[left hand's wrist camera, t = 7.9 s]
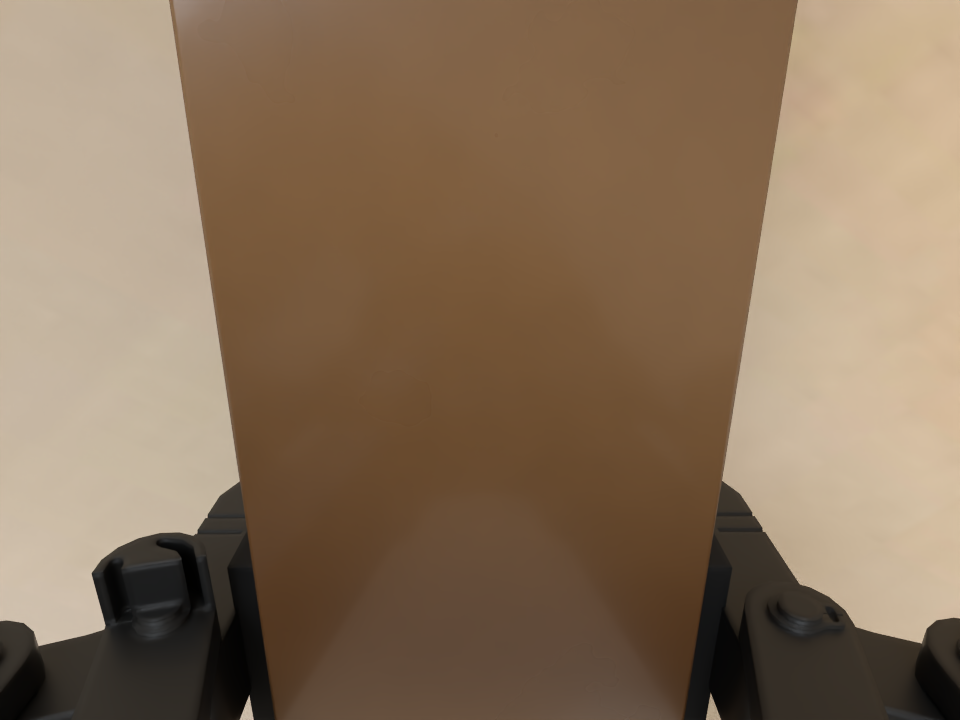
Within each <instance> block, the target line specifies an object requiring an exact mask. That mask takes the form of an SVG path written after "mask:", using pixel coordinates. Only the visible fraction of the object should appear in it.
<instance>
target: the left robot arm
mask: <svg viewBox="0 0 960 720" xmlns="http://www.w3.org/2000/svg"><path fill="white" fill-rule="evenodd" d="M92 577H93V580H94V584H95V588H96V592H97V595H98V599H99V603H100V606H101V610H102V614H103V617H104V621H105V625H106V627H105V629H104V630H102V631H99V632H96V633H92V634H89V635H85V636H81V637H77V638H72V639H68V640H64V641H59V642H55V643H51V644H46V645H42V646H38V644H37V641H36V637H35V634H34V631H32V630H31V629H30V628H29V627H28V626H26V625H25V624H24V623H19V622H12V621H0V720H240V717H241V715H242V712H243V710H244V707H245V704H246V702H247V699H248V697H249V695H250V701H251V706H252V712H253V718H254V720H275V717H274V710H273V703H272V696H271V689H270V683H269V676H268V669H267V662H266V655H265V649H264V642H263V635H262V628H261V621H260V615H259V608H258V601H257V594H256V587H255V580H254V574H253V567H252V560H251V553H250V546H249V540H248V533H247V526H246V519H245V512H244V506H243V499H242V492H241V485H240V482H239V483H237V484H236V485H234V486H233V487H232V488H230V489H229V490H228V491H226V492H225V493H224V494H222V495H221V496H220V497H219V498H218V500H217V501H216V503H215V505H214V506H213V508H212V509H211V511H210V512H209V514H208V518H205V520H204V521H203V523H202V524H201V526H200V527H199V529H198V533H197V534H195V535H194V536H191V535H187V534H183V533H159V534H155V535H151V536H146V537H142V538H138V539H136V540H134V541H132V542H130V543H127V544H125V545H123V546H121V547H118V548H117V549H116V550H114V551H113V552H112V553H110V554H109V555H108V556H106V557H105V558H103V559H102V560H101V561H100V563H99V564H98V565H97V567H96V568H95V570H94V571H93V572H92ZM710 693H711V694H712V697H713V700H714V702H715V705H716V707H717V710H718V712H719V715H720V718H721V720H960V619H959V618H950V619H943V620H937V621H935V622H934V623H933V624H932V625H931V626H929V627H928V628H927V630H926V633H925V636H924V639H923V642H922V644H921V643H916V642H912V641H908V640H903V639H899V638H895V637H890V636H886V635H882V634H877V633H873V632H870V631H866V630H863V629H860V628H856V627H855V625H854V624H853V622H852V621H851V619H850V617H849V616H848V614H847V613H846V611H845V610H844V609H843V608H842V607H840V606H839V605H838V604H837V603H836V602H834V601H833V600H832V599H831V598H830V597H828V596H826V595H824V594H822V593H820V592H818V591H816V590H814V589H812V588H810V587H806V586H803V585H800V584H799V583H798V581H797V580H796V578H795V577H794V575H793V574H792V572H791V571H790V569H789V568H788V566H787V565H786V563H785V562H784V560H783V559H782V557H781V556H780V554H779V552H778V551H777V549H776V548H775V546H774V545H773V543H772V542H771V540H770V539H769V537H768V536H767V534H766V533H765V532H763V531H762V527H761V525H760V524H759V522H758V521H757V519H756V518H755V516H752V512H751V510H750V508H749V507H748V505H747V504H746V502H745V501H744V499H743V498H742V496H741V495H740V494H739V493H738V492H737V491H735V490H734V489H732V488H731V487H730V486H728V485H727V484H726V483H724V482H723V481H722V483H721V489H720V495H719V501H718V508H717V514H716V520H715V527H714V533H713V539H712V546H711V552H710V558H709V565H708V571H707V577H706V584H705V590H704V596H703V603H702V609H701V615H700V622H699V628H698V634H697V641H696V647H695V653H694V660H693V666H692V672H691V679H690V685H689V691H688V698H687V704H686V710H685V717H684V720H706V715H707V710H708V704H709V698H710Z"/></svg>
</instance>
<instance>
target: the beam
mask: <svg viewBox="0 0 960 720" xmlns="http://www.w3.org/2000/svg"><path fill="white" fill-rule="evenodd" d="M169 2H170V9H171V15H172V22H173V29H174V36H175V43H176V49H177V56H178V63H179V70H180V77H181V83H182V90H183V97H184V104H185V111H186V117H187V124H188V131H189V138H190V145H191V151H192V158H193V165H194V172H195V179H196V186H197V192H198V199H199V206H200V213H201V220H202V226H203V233H204V240H205V247H206V254H207V260H208V267H209V274H210V281H211V288H212V294H213V301H214V308H215V315H216V322H217V329H218V335H219V342H220V349H221V356H222V363H223V369H224V376H225V383H226V390H227V397H228V403H229V410H230V417H231V424H232V431H233V437H234V444H235V451H236V458H237V465H238V472H239V478H240V485H241V492H242V499H243V506H244V512H245V519H246V526H247V533H248V540H249V546H250V553H251V560H252V567H253V574H254V580H255V587H256V594H257V601H258V608H259V615H260V621H261V628H262V635H263V642H264V649H265V655H266V662H267V669H268V676H269V683H270V689H271V696H272V703H273V710H274V717H275V720H684V717H685V710H686V704H687V698H688V691H689V685H690V679H691V672H692V666H693V660H694V653H695V647H696V641H697V634H698V628H699V622H700V615H701V609H702V603H703V596H704V590H705V584H706V577H707V571H708V565H709V558H710V552H711V546H712V539H713V533H714V527H715V520H716V514H717V508H718V501H719V495H720V489H721V483H722V476H723V470H724V464H725V457H726V451H727V445H728V438H729V432H730V426H731V419H732V413H733V407H734V400H735V394H736V388H737V381H738V375H739V369H740V362H741V356H742V350H743V343H744V337H745V331H746V324H747V318H748V312H749V305H750V299H751V293H752V286H753V280H754V274H755V267H756V261H757V255H758V248H759V242H760V236H761V229H762V223H763V217H764V210H765V204H766V198H767V191H768V185H769V179H770V172H771V166H772V160H773V153H774V147H775V141H776V134H777V128H778V122H779V115H780V109H781V103H782V96H783V90H784V84H785V77H786V71H787V65H788V58H789V52H790V46H791V39H792V33H793V27H794V21H795V14H796V8H797V2H798V0H169Z"/></svg>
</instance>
